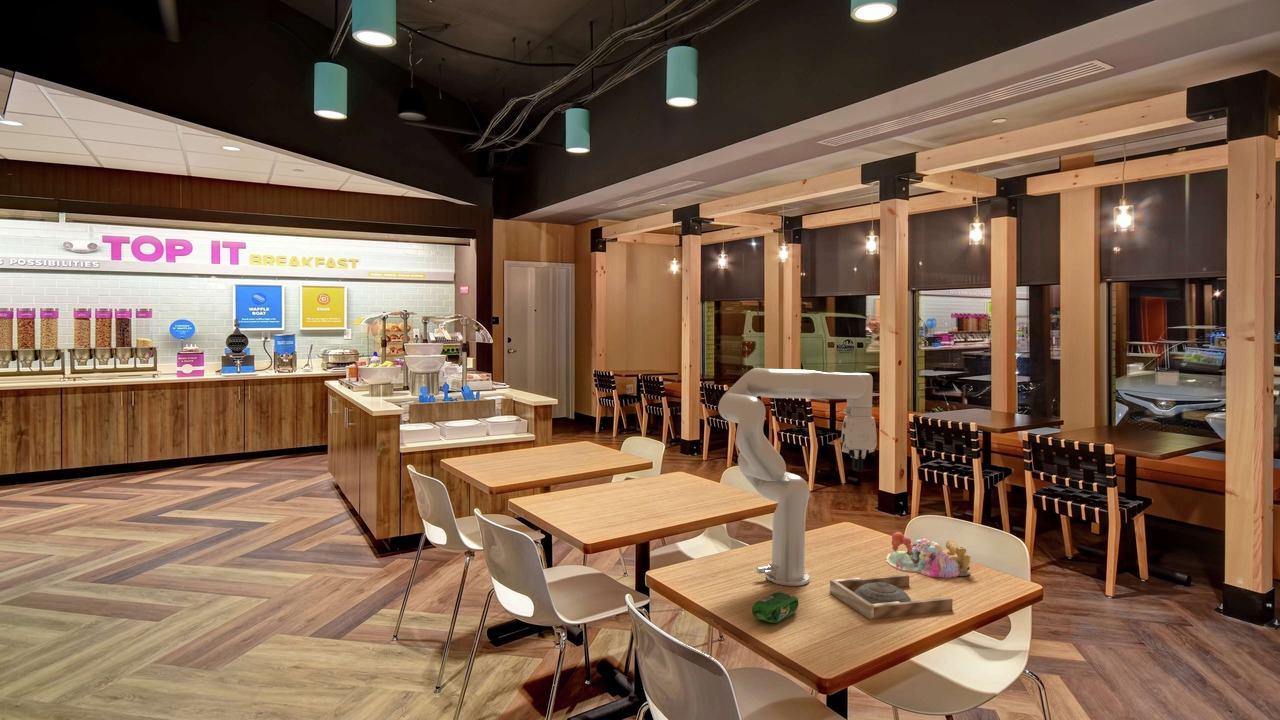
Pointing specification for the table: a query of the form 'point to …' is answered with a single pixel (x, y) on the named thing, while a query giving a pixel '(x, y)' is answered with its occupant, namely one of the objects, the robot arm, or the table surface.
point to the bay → (888, 609)
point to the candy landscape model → (929, 557)
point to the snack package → (775, 607)
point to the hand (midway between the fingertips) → (857, 470)
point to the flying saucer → (881, 593)
